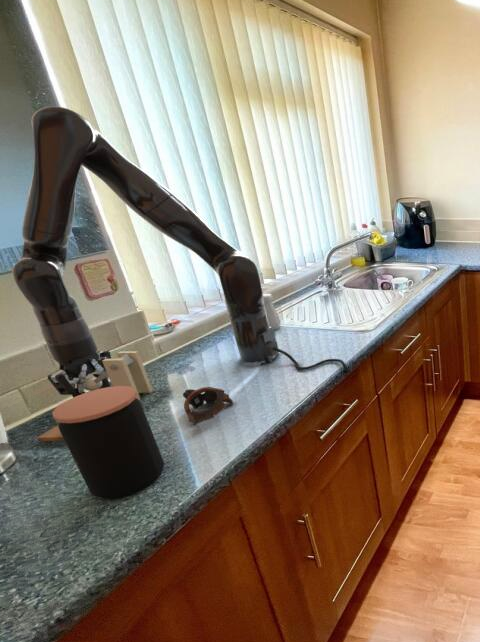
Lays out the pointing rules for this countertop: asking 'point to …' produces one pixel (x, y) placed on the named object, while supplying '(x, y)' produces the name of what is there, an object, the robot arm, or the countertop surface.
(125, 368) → the bracket
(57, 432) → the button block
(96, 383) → the lever
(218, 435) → the countertop surface
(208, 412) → the brown hollow shell
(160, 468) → the coffee jar
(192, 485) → the countertop surface
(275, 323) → the salt shaker
